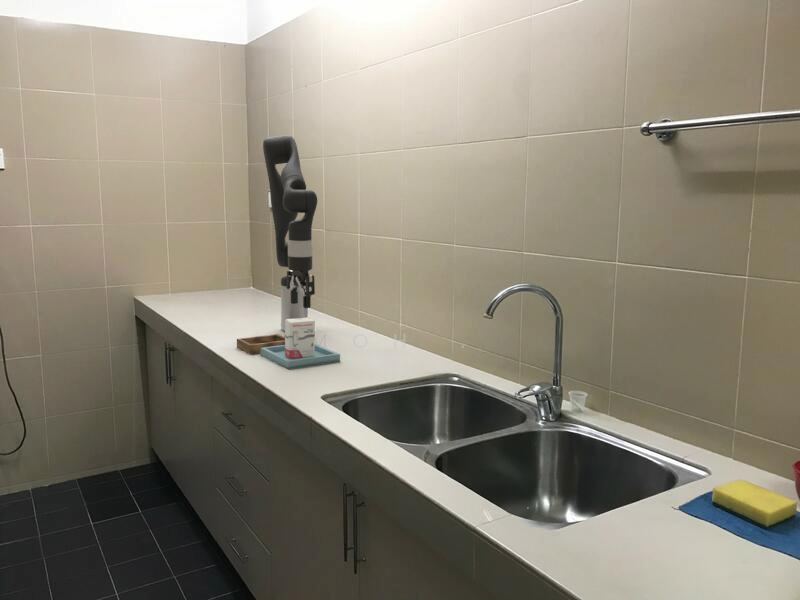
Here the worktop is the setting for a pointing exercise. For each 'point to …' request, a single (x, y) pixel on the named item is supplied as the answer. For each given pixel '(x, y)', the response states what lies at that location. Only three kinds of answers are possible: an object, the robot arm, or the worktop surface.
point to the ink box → (299, 338)
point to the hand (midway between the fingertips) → (300, 305)
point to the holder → (259, 343)
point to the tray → (279, 357)
